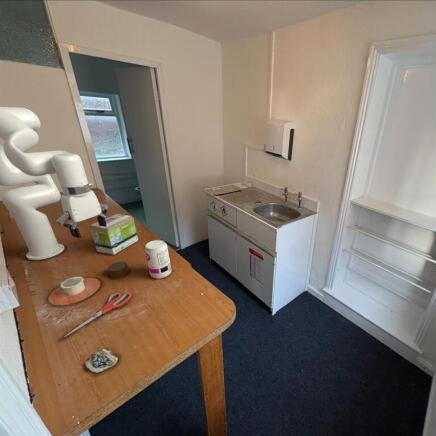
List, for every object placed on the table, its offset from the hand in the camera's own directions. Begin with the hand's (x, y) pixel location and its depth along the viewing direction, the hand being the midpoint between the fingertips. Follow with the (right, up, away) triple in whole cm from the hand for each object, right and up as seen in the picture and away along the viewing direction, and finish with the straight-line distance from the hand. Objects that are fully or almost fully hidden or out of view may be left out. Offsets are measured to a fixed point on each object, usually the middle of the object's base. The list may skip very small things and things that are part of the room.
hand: (90, 231), depth 90 cm
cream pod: (-5, -23, -1) cm, 23 cm away
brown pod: (+4, -19, +9) cm, 22 cm away
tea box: (-10, -9, +28) cm, 31 cm away
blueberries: (+24, -36, -24) cm, 50 cm away
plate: (-5, -23, -1) cm, 24 cm away
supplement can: (+21, -19, +12) cm, 31 cm away
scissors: (+13, -29, -10) cm, 33 cm away
